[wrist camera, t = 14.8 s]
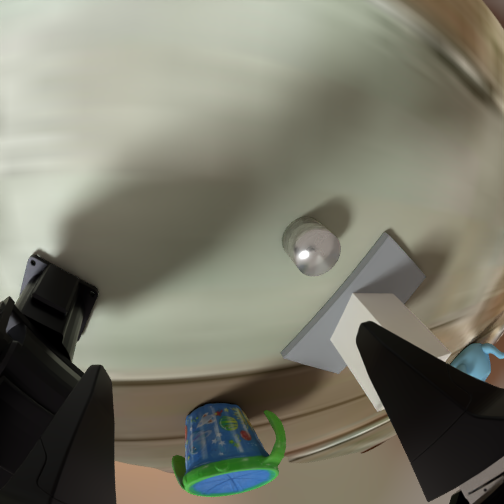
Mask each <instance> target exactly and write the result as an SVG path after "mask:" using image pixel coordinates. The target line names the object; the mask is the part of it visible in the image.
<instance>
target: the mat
mask: <svg viewBox="0 0 504 504" xmlns="http://www.w3.org/2000/svg"><path fill="white" fill-rule="evenodd" d="M425 278H426V276H425V275H424V274H423V272H422V271H421V270H420V269H419V268H418V267H417V265H416V264H415V263H414V262H413V261H412V260H411V259H410V257H409V256H408V255H407V254H406V253H405V252H404V251H403V250H402V249H401V247H400V246H399V245H398V244H397V243H396V242H395V241H394V240H393V239H392V238H391V237H390V236H389V235H388V234H387V233H385V232H384V233H383V234H382V235H381V237H380V238H379V239H378V241H377V242H376V243H375V245H374V246H373V247H372V248H371V250H370V251H369V252H368V254H367V255H366V256H365V257H364V259H363V260H362V261H361V262H360V264H359V265H358V266H357V267H356V269H355V270H354V271H353V272H352V273H351V275H350V276H349V277H348V278H347V280H346V281H345V282H344V283H343V284H342V285H341V287H340V288H339V289H338V290H337V291H336V293H335V294H334V295H333V296H332V297H331V298H330V300H329V301H328V302H327V303H326V304H325V305H324V306H323V308H322V309H321V310H320V311H319V312H318V313H317V314H316V315H315V317H314V318H313V319H312V320H311V321H310V322H309V323H308V324H307V325H306V326H305V328H304V329H303V330H302V331H301V332H300V333H299V334H298V335H297V336H296V337H295V338H294V339H293V340H292V341H291V343H290V344H289V345H288V346H287V347H286V348H285V349H284V350H283V351H282V352H281V354H282V357H283V358H285V359H288V360H291V361H295V362H298V363H301V364H305V365H308V366H312V367H315V368H319V369H323V370H326V371H330V372H334V373H338V374H339V373H340V372H341V371H342V370H343V369H344V368H345V367H346V366H347V364H346V363H345V361H344V360H343V358H342V357H341V355H340V354H339V352H338V351H337V349H336V348H335V346H334V345H333V343H332V342H331V340H330V339H331V337H332V335H333V333H334V331H335V329H336V327H337V325H338V323H339V321H340V319H341V317H342V315H343V312H344V310H345V308H346V306H347V304H348V302H349V300H350V297H351V295H352V293H393V294H394V295H395V296H396V297H397V298H398V299H399V300H400V301H401V302H402V303H403V304H405V303H406V301H407V300H408V299H409V298H410V297H411V295H412V294H413V293H414V292H415V290H416V289H417V288H418V287H419V285H420V284H421V283H422V281H423V280H424V279H425Z"/></svg>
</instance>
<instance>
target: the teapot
mask: <svg viewBox="0 0 504 504" xmlns="http://www.w3.org/2000/svg"><path fill="white" fill-rule="evenodd" d="M489 353H492V354H494V355H495V356H497V357H498V358H500V359H502V358H504V353H502V352H500V351H499V350H498V349H497V348H496V347H495V346H493V345H492V344H489V343H485V344H480V343H473V344H470V345H469V346H467V347H466V348H465V349H464V350H463V351H462V352H461V353H460V354H459V355H458V356H457V357H456V358H455V359H454V360H453V362H452V363H451V364H450V365H451V366H453V367H455V368H457V369H459V370H460V371H462V372H464V373H466V374H468V375H471V376H473V377H475V378H477V379H480V380H482V381H484V382H485V380H486V378H487V377H488V376H489V374H490V372H491V366H490V360H489V355H488V354H489ZM486 383H487V382H486Z"/></svg>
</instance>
